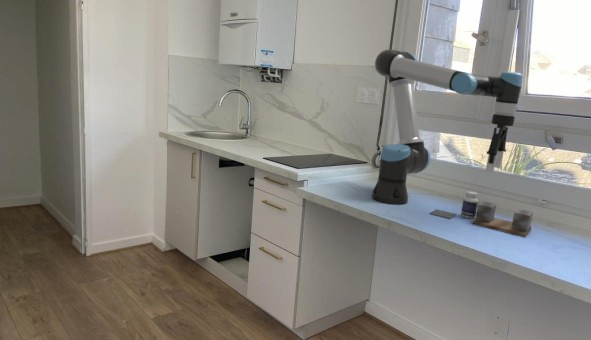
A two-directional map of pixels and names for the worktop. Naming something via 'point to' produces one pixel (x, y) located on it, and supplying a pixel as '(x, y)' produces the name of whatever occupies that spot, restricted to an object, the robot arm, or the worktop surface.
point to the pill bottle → (469, 205)
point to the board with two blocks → (516, 227)
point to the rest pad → (442, 214)
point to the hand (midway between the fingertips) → (493, 169)
